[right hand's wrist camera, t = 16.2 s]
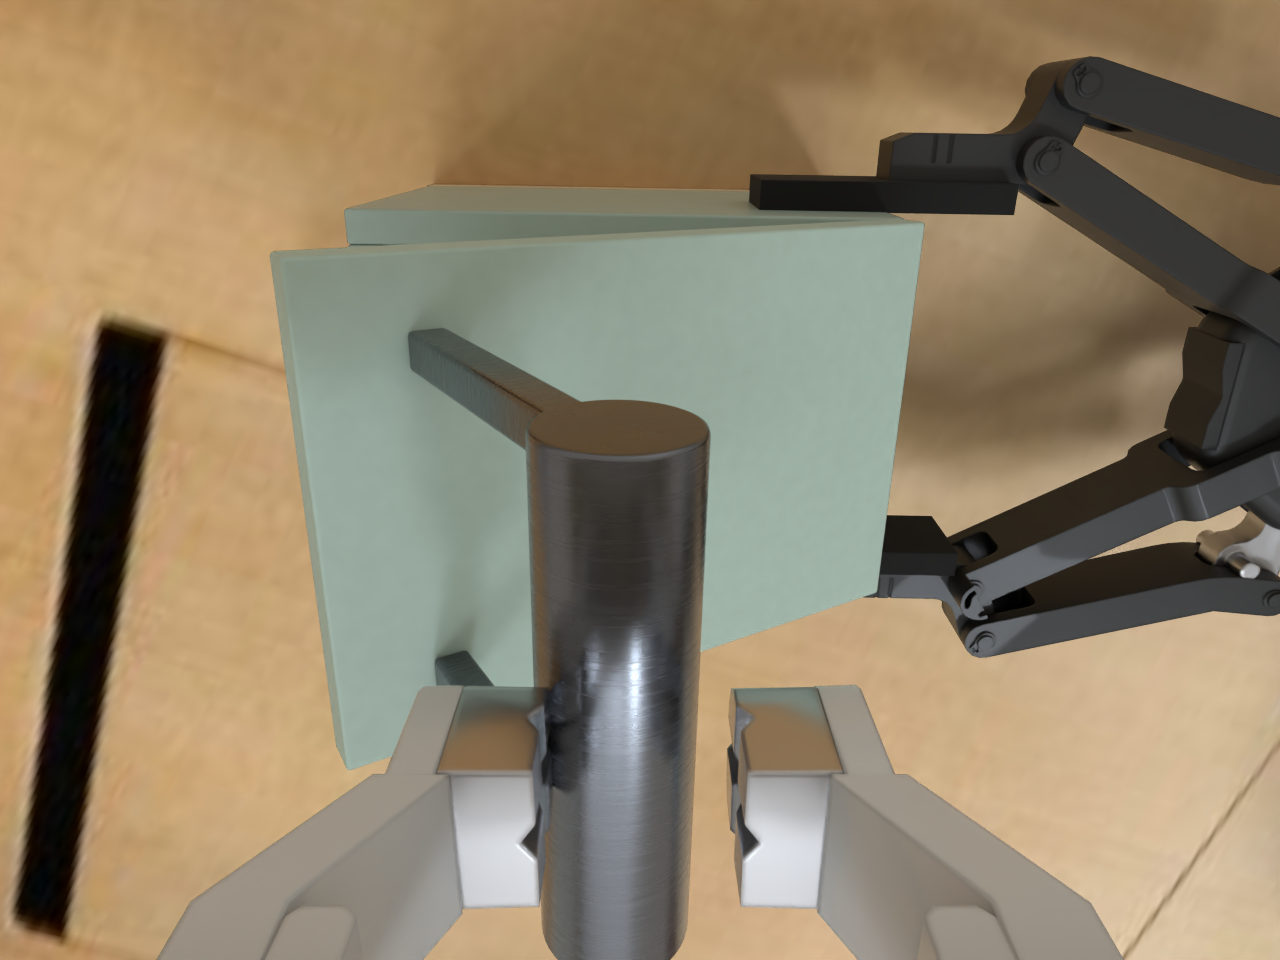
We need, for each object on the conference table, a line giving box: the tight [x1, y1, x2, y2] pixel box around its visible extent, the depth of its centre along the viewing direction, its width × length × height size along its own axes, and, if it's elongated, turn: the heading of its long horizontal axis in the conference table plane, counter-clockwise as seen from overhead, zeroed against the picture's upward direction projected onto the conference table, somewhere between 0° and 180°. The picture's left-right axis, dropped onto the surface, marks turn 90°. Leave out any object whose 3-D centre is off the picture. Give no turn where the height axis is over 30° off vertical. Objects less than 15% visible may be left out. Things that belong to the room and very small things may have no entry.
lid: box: [270, 219, 925, 960], centre depth 16 cm, size 14×10×8 cm
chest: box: [344, 184, 904, 247], centre depth 27 cm, size 14×10×10 cm
